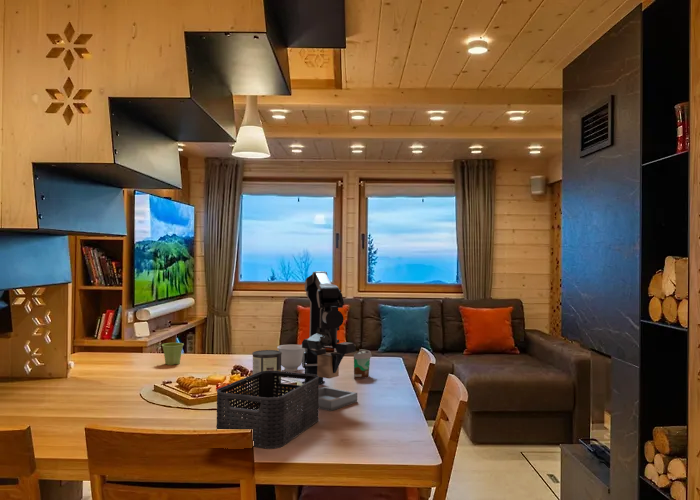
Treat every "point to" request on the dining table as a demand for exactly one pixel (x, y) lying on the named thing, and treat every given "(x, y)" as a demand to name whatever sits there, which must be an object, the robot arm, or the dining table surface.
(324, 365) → the walnut block
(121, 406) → the dining table surface
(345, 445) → the dining table surface
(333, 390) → the serving tray
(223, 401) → the storage bin
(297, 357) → the teacup
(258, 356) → the coffee can
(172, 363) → the plant pot
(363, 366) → the food container
